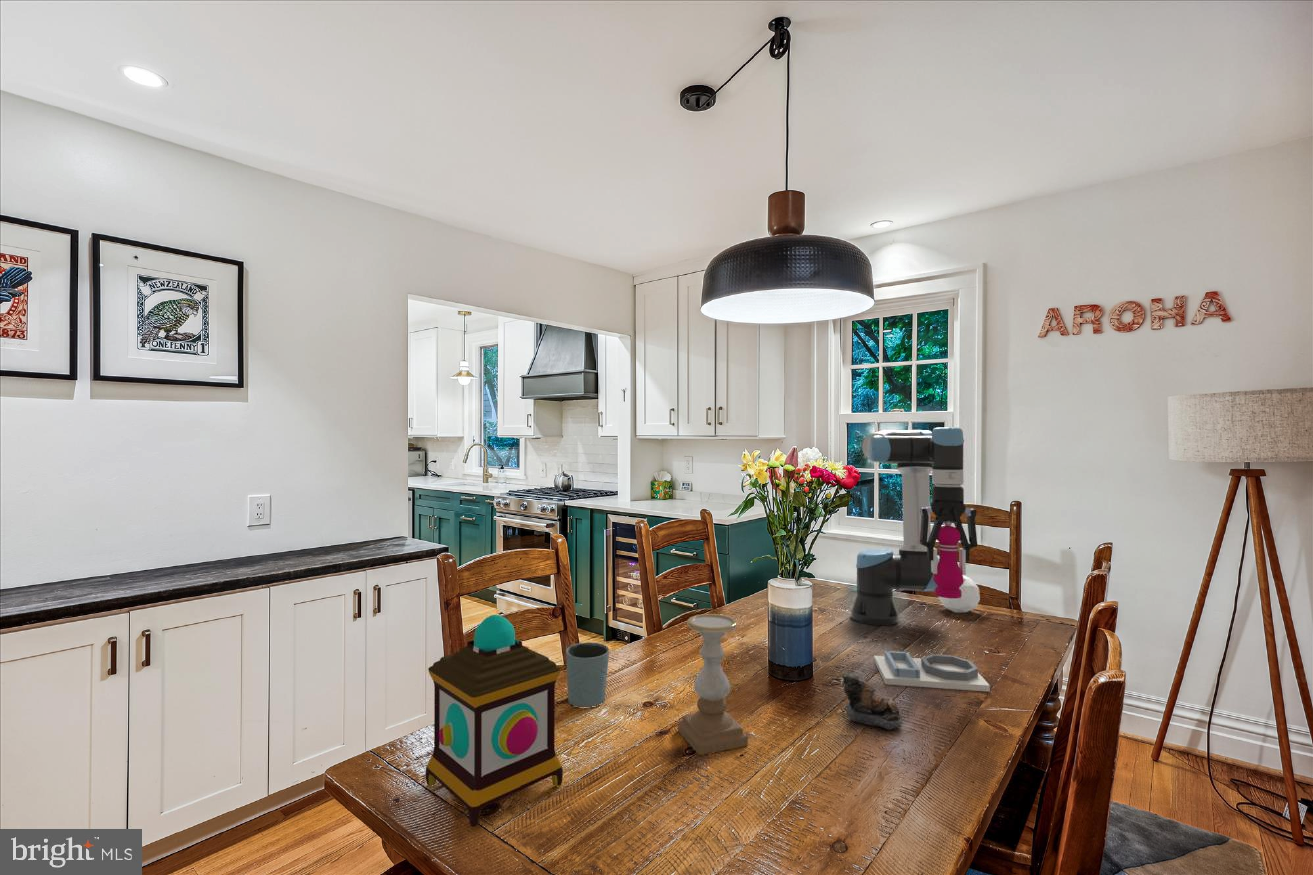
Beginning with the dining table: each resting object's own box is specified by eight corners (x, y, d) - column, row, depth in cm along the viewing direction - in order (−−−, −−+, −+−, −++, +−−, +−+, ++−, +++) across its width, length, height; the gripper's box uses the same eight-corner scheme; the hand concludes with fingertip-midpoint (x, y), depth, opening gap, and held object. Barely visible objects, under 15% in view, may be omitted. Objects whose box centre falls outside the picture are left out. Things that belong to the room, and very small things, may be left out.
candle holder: (676, 730, 125) (676, 616, 125) (723, 721, 129) (723, 610, 129) (698, 756, 115) (698, 631, 115) (749, 746, 119) (749, 625, 119)
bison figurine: (901, 722, 129) (901, 675, 129) (903, 737, 123) (903, 688, 123) (843, 713, 133) (843, 668, 133) (841, 728, 127) (841, 680, 127)
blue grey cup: (583, 688, 146) (583, 639, 146) (617, 697, 141) (618, 646, 141) (556, 704, 138) (556, 652, 138) (591, 714, 132) (591, 660, 133)
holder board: (874, 660, 165) (874, 648, 165) (968, 667, 161) (968, 654, 161) (885, 684, 149) (885, 670, 149) (989, 691, 145) (989, 677, 145)
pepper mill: (957, 592, 161) (956, 518, 162) (968, 599, 154) (967, 521, 155) (929, 592, 162) (928, 518, 163) (939, 598, 155) (938, 521, 155)
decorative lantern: (414, 785, 105) (414, 614, 105) (513, 745, 119) (514, 594, 119) (468, 839, 91) (469, 641, 91) (574, 786, 105) (574, 615, 105)
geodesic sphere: (996, 602, 204) (980, 565, 212) (959, 604, 202) (944, 566, 210) (974, 618, 215) (959, 582, 223) (939, 619, 213) (925, 583, 222)
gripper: (912, 485, 157) (913, 574, 156) (992, 487, 153) (993, 577, 153) (906, 484, 164) (906, 569, 164) (981, 485, 161) (982, 572, 160)
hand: (948, 573), depth 158 cm, fingers closed on pepper mill, 6 cm apart
